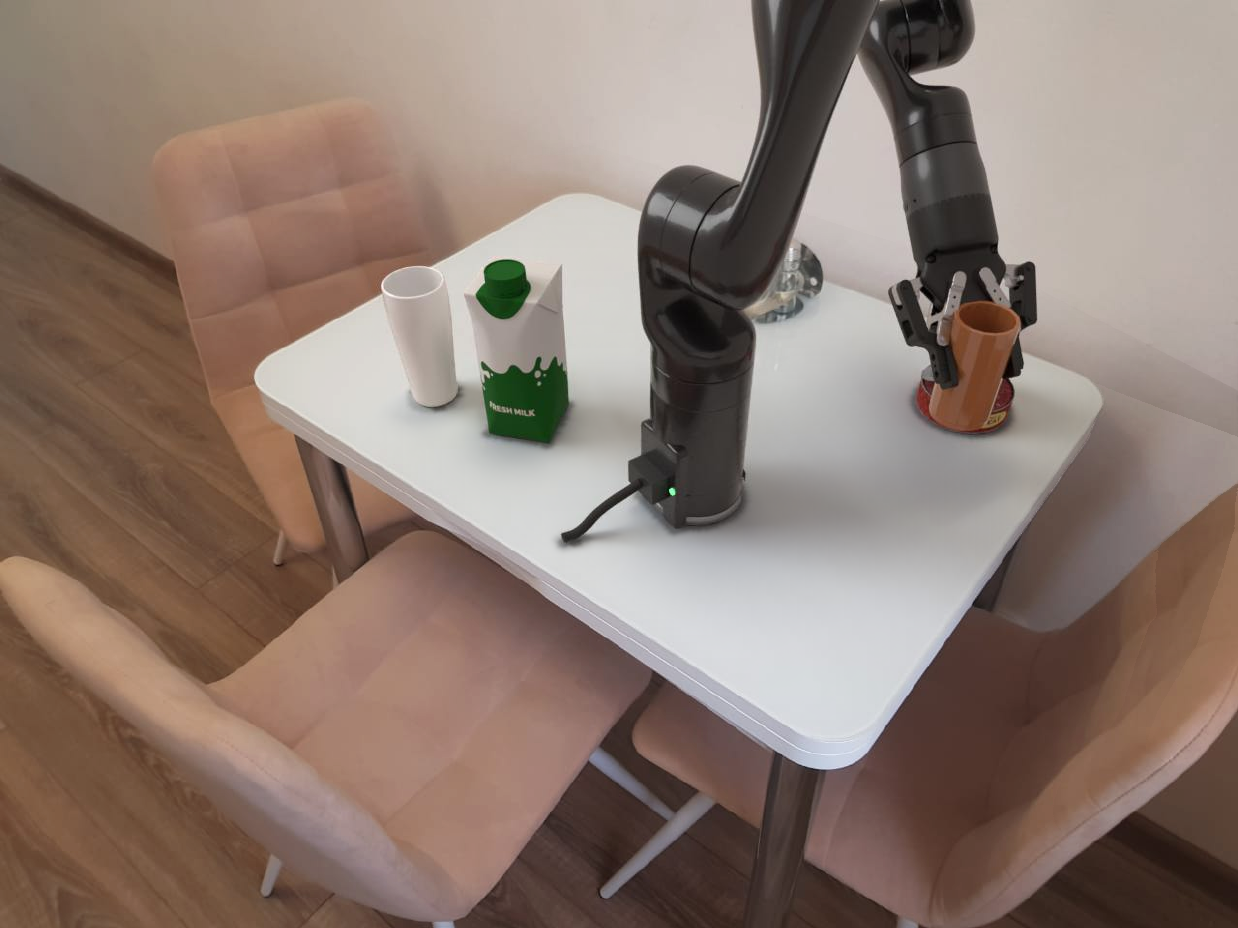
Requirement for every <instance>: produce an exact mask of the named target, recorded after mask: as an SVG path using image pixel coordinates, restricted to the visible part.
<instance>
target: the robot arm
mask: <svg viewBox="0 0 1238 928" xmlns="http://www.w3.org/2000/svg"><path fill="white" fill-rule="evenodd" d="M750 8H751V20H752V21H751V22H752V33H753V41H754V47H755V48H754V49H755V55H756V62H757V70H758V77H759V78H758V79H759V86H760V87H759V88H760V89H759V90H760V91H759V93H760V94H759V95H760V106H759V107H760V108H759V118H758V123H757V129H756V133H755V137H754V142H753V145H752V149H751V152H750V156H749V159H748V162H747V166H746V168H745V171H744V173H743V176H742V179H741V181H740V180H738V179H735V178H732V177H729V176H728V175H725V174H722V173H719V172H717V171H715V170H711V169H709V168H705V167H702V166H698V165H694V164H683V165H678V166H676V167H673V168H671V169H670V170H668V171H667V172H665V173H664V174H663V175H661V177H659V179H658V180H657V181H656V182H655V183H654V185H653V186H652V188H651V190H650V191H649V192H648V195H647V198H646V200H645V202H644V204H643V208H642V211H641V215H640V219H639V223H638V225H639V226H638V232H637V247H636V248H637V249H636V251H637V253H636V254H637V273H638V286H639V287H638V289H639V303H640V318H641V320H640V321H641V325H642V329H643V332H644V334H645V336H646V338H647V340H648V342H649V355H650V356H649V359H650V360H649V361H650V362H649V364H650V365H649V368H650V369H649V373H650V374H649V418H647V419H644V420H642V421H641V423H640V455H638V456H636V457H633V458H631V459H629V460H627V474H628V475H627V478H628V479H627V480H628V482H629V484H627V485H626V486H624V487H623V488H621V489H619V490H618V491H616V492H615V493H614V494H612V495H611V496H609V497H607V498H606V499H605V500H604V501H603V502H601V503H599V504H598V505H597V506H596V507H595V508H594V509H592V510H591V512H590V513H589V514H588V515H587V516H586V517H585V518H584V520H582V522H581V523H580V524H578V525H577V526H576V527H574V528H573V529H570V530H567V531H564V532H561V533H560V537H561V540H562V542H563V543H568V542H572V541H574V540H576V539H579V538H580V537H582V536H583V535H584V534H586V533H587V532H588V531H589V530H590V529H591V528H592V527H593V526H594V525H595V523H596V522H597V521H598V520H599V519H600V518H601V517H602V516H604V515H605V514H606V513H608V511H610V510H611V509H613V508H614V507H615V506H617V505H618V504H620V503H621V502H623V501H624V500H626V499H627V498H629V497H630V496H632V495H633V494H635V493H637V492H638V493H639V494H641V496H642V497H643V498H644V499H645V500H646V501H647V502H648V503H649V504H650V505H651V506H653V508H654V509H655V510H656V511H657V512H658V513H659V514H660V515H661V516H663V517H664V518H665V520H666V521H667V522H668V523H669V524H670V525H671V526H672V527H673V528H675V529H678V528H681V527H683V526H686V525H687V526H688V525H689V526H707V525H711V524H715V523H719V522H721V521H723V520H725V519H727V518H729V516H732V515H733V513H735V511H736V510H737V509H738V508H739V507H740V504H741V501H742V496H743V480H744V482H746V477H747V473H746V471H745V469H744V466H745V456H746V447H747V438H748V437H747V436H748V426H749V417H750V409H751V398H752V389H753V388H752V387H753V381H754V380H753V378H754V368H755V360H756V359H755V358H756V350H757V349H756V348H757V331H756V326H755V324H754V322H753V320H752V319H751V317H750V316H749V314H748V313H747V312H746V311H745V310H746V309H748V308H751V307H752V306H754V305H756V303H758V301H760V300H761V299H762V298H763V297H764V295H765V294H766V293H767V292H768V290H769V289H770V288H771V286H772V285H773V284H774V281H775V279H776V278H777V276H778V274H779V272H780V270H781V269H782V266H783V264H784V261H785V260H786V257H787V255H788V253H789V249H790V247H791V244H792V242H793V241H792V240H793V238H794V235H795V231H796V229H797V225H798V223H799V220H800V218H801V217H800V216H801V214H802V210H803V207H804V204H805V201H806V197H807V194H808V191H809V188H810V185H811V181H812V179H813V175H814V172H815V169H816V166H817V164H818V159H819V157H820V153H821V151H822V147H823V144H824V141H825V138H826V135H827V132H828V129H829V126H830V124H831V121H832V119H833V115H834V112H835V110H836V107H837V106H838V102H839V99H840V97H841V94H842V92H843V90H844V86H845V84H846V81H847V79H848V77H849V74H850V71H851V69H852V67H853V63H854V62H855V59H856V57H857V58H858V61H859V63H860V66H861V68H862V70H863V72H864V75H865V76H866V78H867V79H868V82H869V83H870V85H871V87H872V89H873V90H874V92H875V94H876V96H877V98H878V99H879V102H880V104H881V106H882V108H883V110H884V113H885V115H886V117H887V120H888V123H889V125H890V128H891V134H892V137H893V143H894V148H895V152H896V158H897V159H896V160H897V163H898V168H899V176H900V177H899V178H900V193H901V199H902V208H903V211H904V215H905V221H906V225H907V231H908V236H909V242H910V248H911V252H912V258H913V261H914V262H915V264H916V267H917V269H916V274H915V278H913V279H910V280H909V279H902V280H901V281H899V282H897V283H895V284H894V285H892V286H890V287H889V288H888V290H887V295H888V297H889V300H890V303H891V306H892V309H893V312H894V314H895V316H896V319H897V322H898V325H899V328H900V330H901V333H902V336H903V338H904V341H905V344H906V345H907V346H908V347H910V348H912V347H913V348H914V347H916V348H922V349H924V350H926V351H927V353H928V356H929V362H930V365H931V368H932V373H933V378H934V381H935V382H936V384H940V387H941V389H943V390H944V389H949V388H953V387H957V386H958V385H959V379H958V374H957V369H956V364H955V358H954V354H953V350H952V346H948V343H949V341H950V336H951V327H952V322H953V318H954V312H955V310H959V306H960V305H961V304H964V303H969V302H975V301H991V302H994V303H996V304H1001V305H1004V306H1006V307H1008V308H1010V309H1011V310H1013V311H1014V312H1015V313H1016V314H1017V315H1018V316H1019V317H1020V322H1021V326H1020V329H1019V332H1018V335H1017V338H1016V341H1015V344H1014V347H1013V350H1012V353H1011V355H1010V358H1009V361H1008V364H1007V367H1006V370H1005V373H1004V376H1003V379H1014V378H1017V377H1019V376H1020V377H1021V375H1022V370H1024V365H1025V361H1024V356H1023V351H1022V345H1021V341H1020V334H1021V332H1022V331H1023V330H1025V329H1027V328H1028V327H1031V326H1033V325H1036V324H1037V321H1038V304H1037V303H1038V301H1037V300H1038V299H1037V298H1038V297H1037V275H1036V273H1037V271H1036V264H1035V263H1034V262H1032V261H1030V260H1028V261H1025V262H1023V263H1020V264H1016V263H1015V264H1014V263H1005V261H1004V259H1003V258H1002V256H1001V254H1000V253H999V241H1000V240H999V239H1000V237H999V232H998V227H997V221H996V216H995V212H994V206H993V201H992V196H991V190H990V186H989V180H988V175H987V170H986V167H985V164H984V162H983V159H982V156H981V153H980V149H979V145H978V141H977V135H976V129H975V125H974V124H975V123H974V119H973V115H972V113H973V112H972V109H971V104H970V100H969V97H968V95H967V93H966V92H965V90H964V89H962V88H960V87H958V86H953V85H941V84H940V85H939V84H937V85H934V84H930V85H929V84H923V83H920V82H918V81H916V80H915V79H914V78H913V77H912V76H917V75H919V74H924V73H928V72H932V71H937V70H941V69H945V68H949V67H951V66H954V65H956V64H958V63H959V62H961V61H962V59H964V57H965V56H966V55H967V54H968V53H969V51H970V49H971V48H972V46H973V43H974V41H975V35H976V21H975V13H974V9H973V3H972V0H750ZM1003 280H1004V287H1007V288H1008V294H1009V295H1008V298H1007V296H1006V294H1005V292H1004V291H1003V289H1002V288H1001V287H1000V286H1001V284H1002V281H1003ZM921 294H922V295H924V297H925V298H926V299H927V300H928V301H929V302H930V305H929V309H928V313H927V318H926V319H925V316H924V313H923V311H922V308H921V305H920V302H919V300H920V298H921ZM969 308H971V307H969ZM969 308H967V309H969ZM967 309H966V310H967Z"/></svg>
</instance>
